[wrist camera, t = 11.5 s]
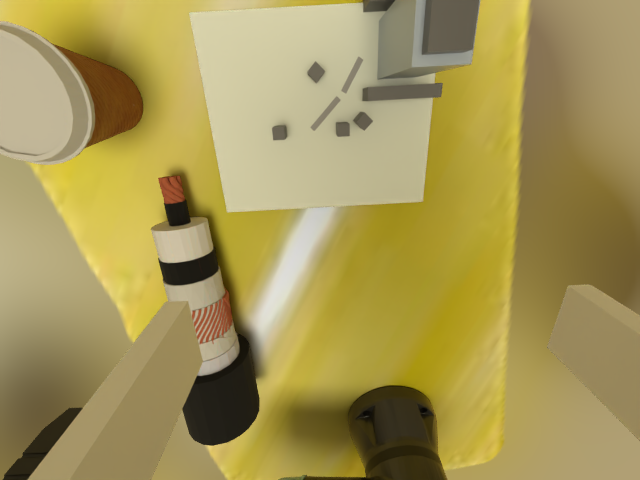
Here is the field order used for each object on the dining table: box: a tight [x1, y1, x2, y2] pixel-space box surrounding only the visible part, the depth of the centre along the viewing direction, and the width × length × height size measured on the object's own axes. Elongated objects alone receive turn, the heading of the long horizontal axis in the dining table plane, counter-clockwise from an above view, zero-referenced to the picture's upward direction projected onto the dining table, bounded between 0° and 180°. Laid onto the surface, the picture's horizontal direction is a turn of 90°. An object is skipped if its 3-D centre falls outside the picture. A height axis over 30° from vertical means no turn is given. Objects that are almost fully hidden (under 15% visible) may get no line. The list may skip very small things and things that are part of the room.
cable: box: [151, 176, 259, 446], centre depth 38 cm, size 10×34×10 cm, turn 4°
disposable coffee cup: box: [0, 21, 143, 165], centre depth 26 cm, size 10×10×12 cm
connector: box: [377, 0, 480, 80], centre depth 24 cm, size 5×4×13 cm
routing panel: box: [189, 0, 443, 212], centre depth 31 cm, size 20×24×4 cm
